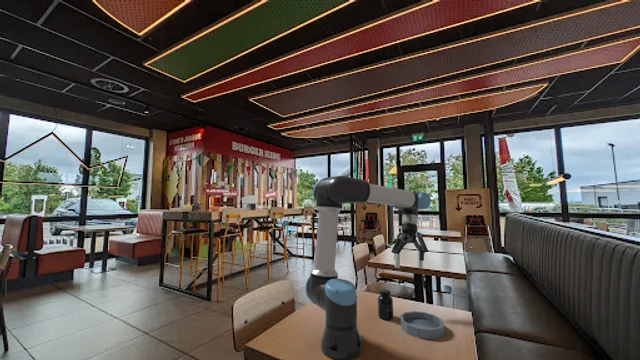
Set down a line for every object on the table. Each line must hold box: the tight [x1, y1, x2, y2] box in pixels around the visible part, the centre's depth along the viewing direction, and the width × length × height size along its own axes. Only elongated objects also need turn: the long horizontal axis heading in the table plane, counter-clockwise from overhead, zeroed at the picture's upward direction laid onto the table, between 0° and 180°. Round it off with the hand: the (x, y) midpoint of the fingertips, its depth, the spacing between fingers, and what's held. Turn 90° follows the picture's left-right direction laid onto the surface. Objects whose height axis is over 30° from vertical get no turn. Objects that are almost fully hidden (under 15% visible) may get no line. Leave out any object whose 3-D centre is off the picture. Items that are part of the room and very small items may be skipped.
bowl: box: [400, 310, 445, 340], centre depth 112 cm, size 17×17×4 cm
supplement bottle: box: [377, 288, 394, 321], centre depth 123 cm, size 7×7×12 cm
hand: (408, 267), depth 126 cm, fingers open, 13 cm apart
